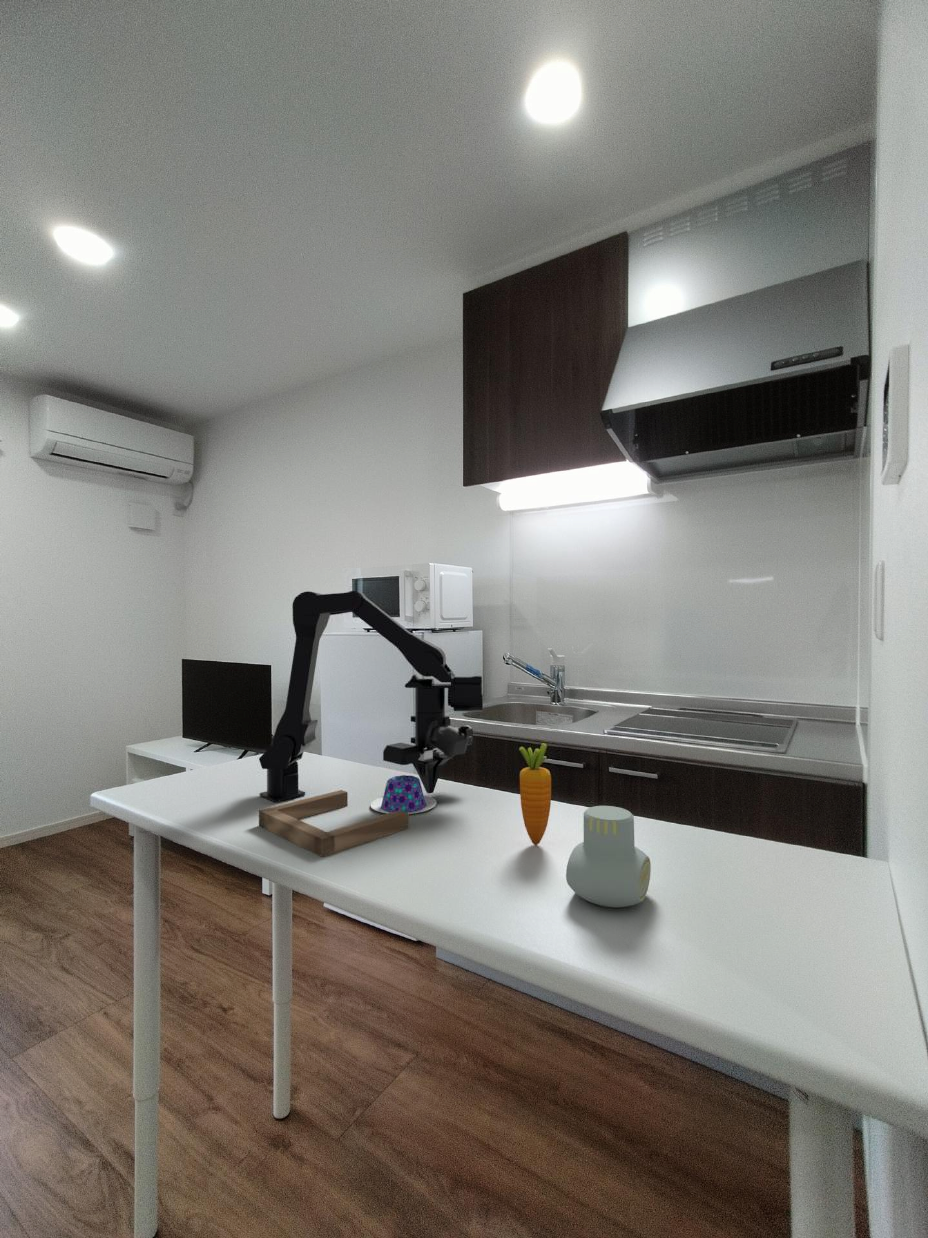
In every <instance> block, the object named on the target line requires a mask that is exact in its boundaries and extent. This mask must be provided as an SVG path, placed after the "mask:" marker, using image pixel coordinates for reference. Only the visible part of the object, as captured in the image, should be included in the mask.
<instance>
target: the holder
mask: <svg viewBox="0 0 928 1238" xmlns="http://www.w3.org/2000/svg"><path fill="white" fill-rule="evenodd" d="M348 796H349V795H348V791H345V790H343V789H340V790H336V791H335V790H334V791H332V792H328V793H324V794H320V795H315V796H312V797H307V798H304V799H299V800H296V801H291V802H286V803H284V804H280V805H274V806H271V807H266V808H262V809H258V826H259V827H261V828H263V829H265V830H267V831H270V832H271V833H273V834H275V835H277V836H279V837H281V838H283V839H285V840H288V841H289V842H291V843H293V844H295V845H297V846H299V847H302V848H303V849H306V850H307V851H310V852H312V853H313V854H316V855H317V856H319V857H321V858H324V857H326V856H329V855H330V856H331V855H333V854H336V853H338V852H341V851H345V850H348V849H349V848H350V849H351V848H354V847H355V846H359V845H361V844H365V843H368V842H371V841H374V840H376V839H379V838H383V837H385V836H386V837H387V836H388V835H391V834H394V833H397V832H400V831H403V830H406V829H409V827H410V825H409V815H410V814H409V812H406V811H403V810H398V811H395V812H391V811H390V813H388V814H387V813H384V814H382V815H378V816H375V817H372V818H369V819H365V820H363V821H359V822H355V823H352V824H349V825H346V826H343V827H340V828H339V827H338V828H335V829H332V830H330V831H329V830H328V831H326V830H324V829H322V828H321V829H320V828H318V827H316V826H314V825H311V824H309V823H307V822H305V821H302V820H301V819H304V818H307V817H308V818H309V817H312V816H315V815H318V814H322V813H326V812H331V811H334V810H337V809H340V808H345V807H348V805H349V804H348Z"/></svg>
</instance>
